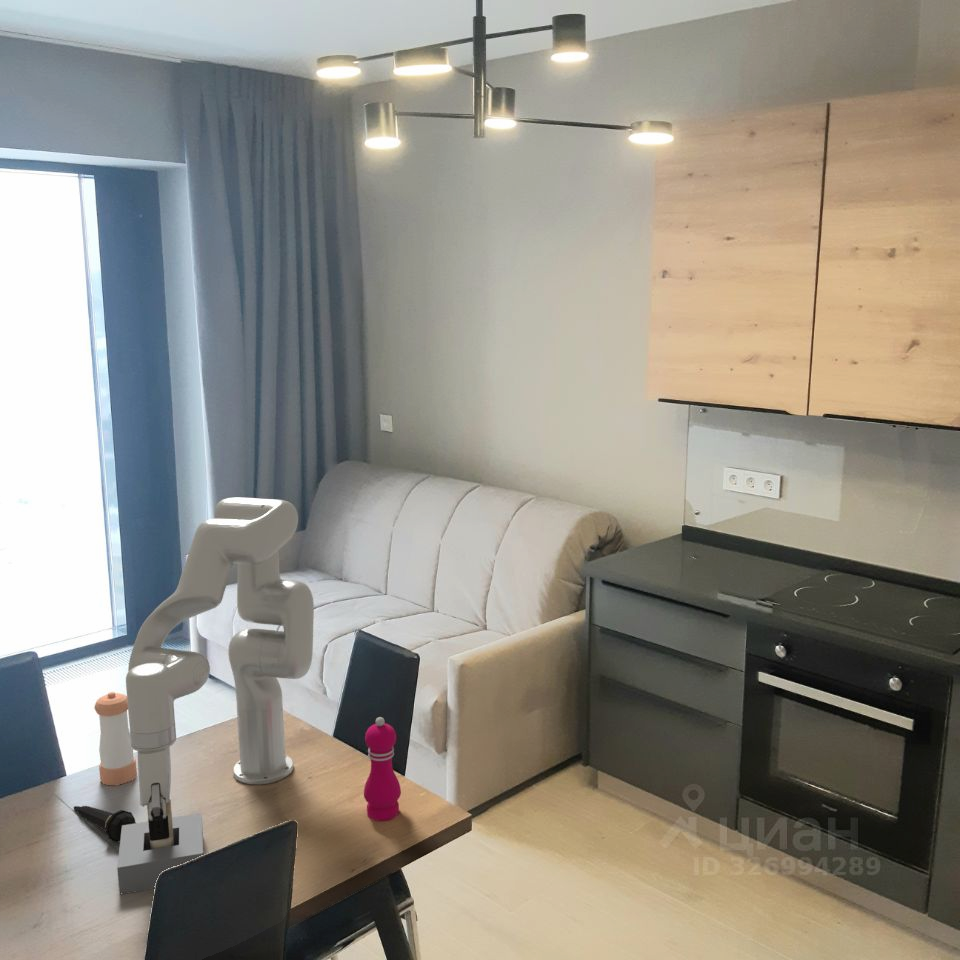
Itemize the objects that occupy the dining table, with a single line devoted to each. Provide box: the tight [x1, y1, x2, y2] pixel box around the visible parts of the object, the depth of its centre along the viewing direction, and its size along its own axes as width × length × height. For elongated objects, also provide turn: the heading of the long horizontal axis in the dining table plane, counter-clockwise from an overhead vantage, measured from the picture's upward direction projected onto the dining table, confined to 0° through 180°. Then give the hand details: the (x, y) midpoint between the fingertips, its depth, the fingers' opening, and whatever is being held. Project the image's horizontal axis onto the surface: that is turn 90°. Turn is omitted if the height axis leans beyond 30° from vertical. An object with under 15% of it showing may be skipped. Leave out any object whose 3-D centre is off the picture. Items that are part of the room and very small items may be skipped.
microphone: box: [73, 805, 137, 843], centre depth 184 cm, size 6×6×20 cm
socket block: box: [117, 812, 205, 895], centre depth 170 cm, size 14×14×5 cm
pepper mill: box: [363, 716, 402, 822], centre depth 186 cm, size 7×7×20 cm
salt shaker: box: [94, 691, 138, 786], centre depth 201 cm, size 7×7×19 cm
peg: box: [146, 797, 174, 850], centre depth 170 cm, size 4×4×12 cm
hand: (160, 824), depth 169 cm, fingers open, 9 cm apart
